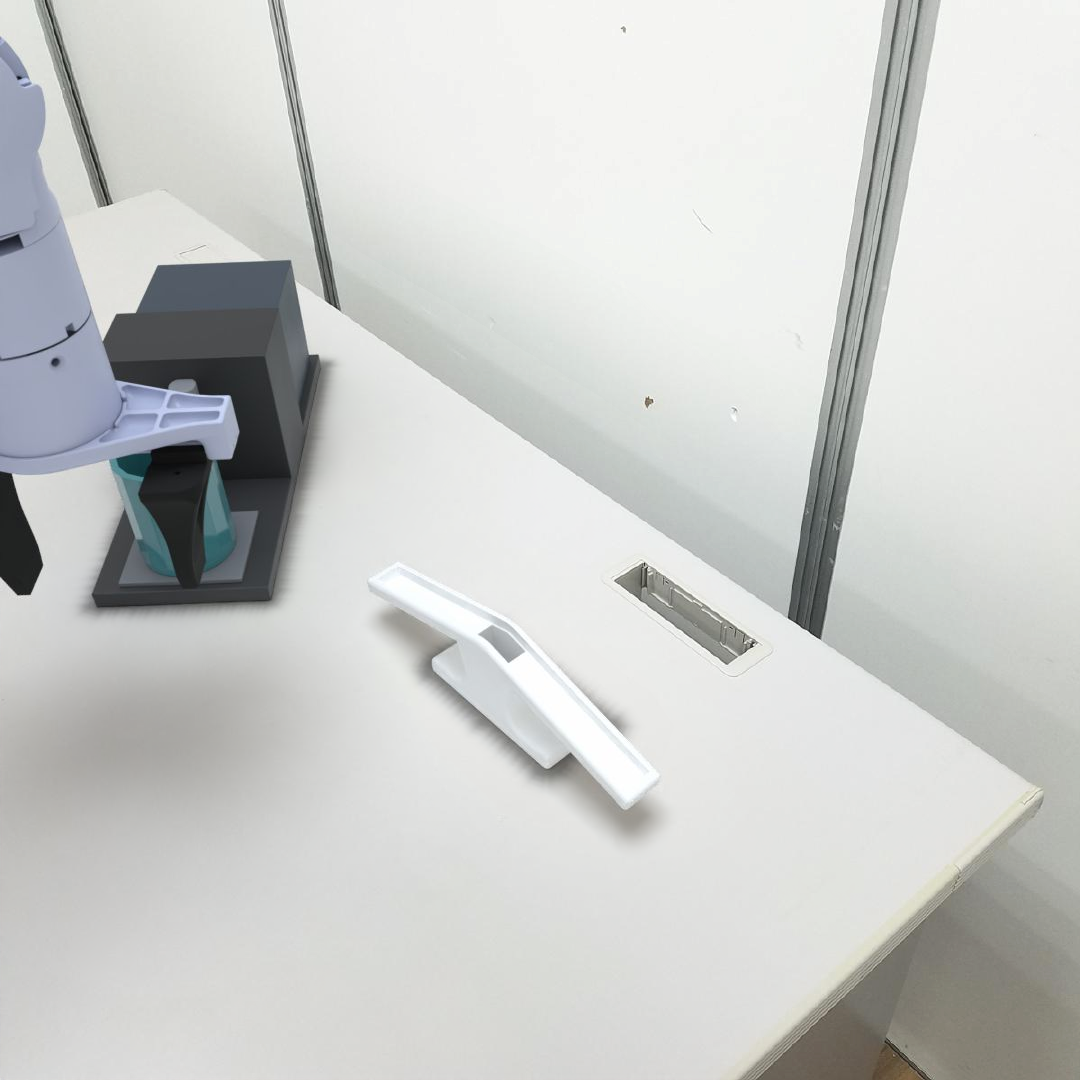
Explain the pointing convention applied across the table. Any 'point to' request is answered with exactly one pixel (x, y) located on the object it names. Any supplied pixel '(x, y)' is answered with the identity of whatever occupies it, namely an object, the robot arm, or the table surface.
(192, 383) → the coffee maker
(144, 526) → the cup
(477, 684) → the t-shaped cleat
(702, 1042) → the table surface
